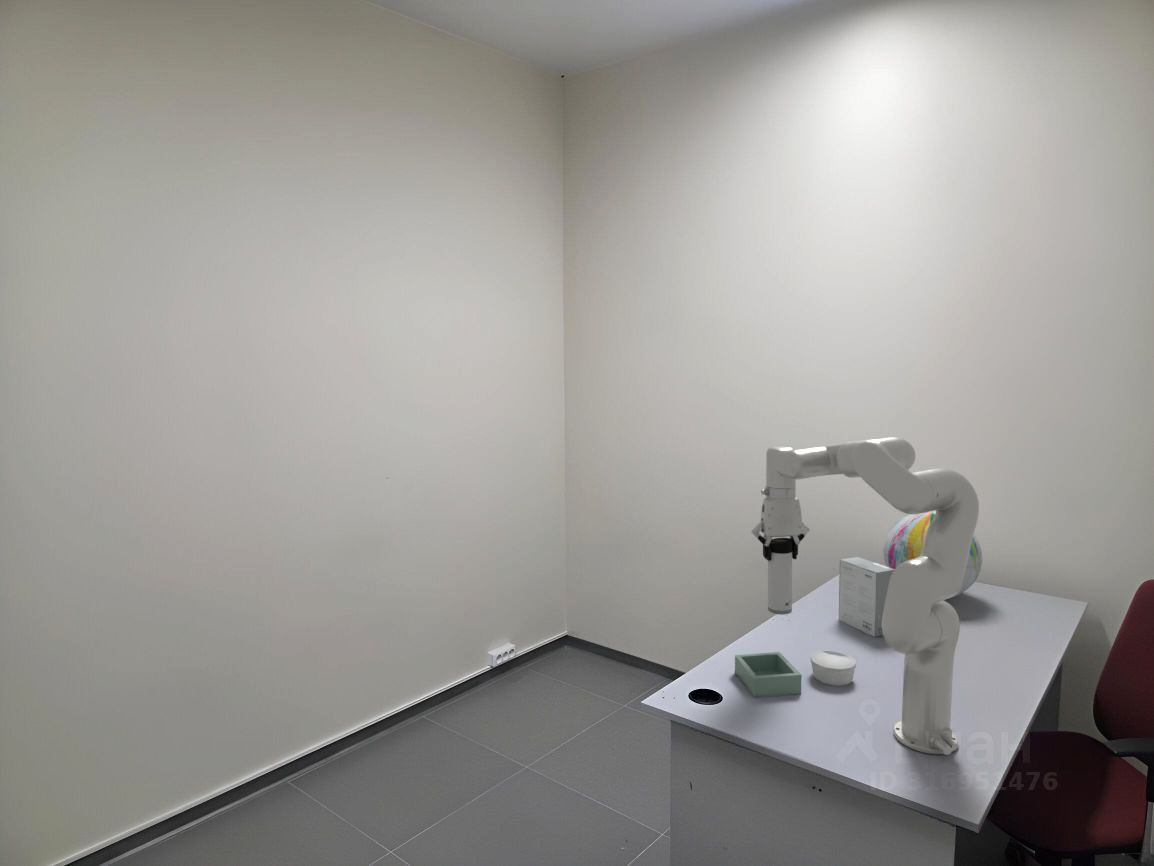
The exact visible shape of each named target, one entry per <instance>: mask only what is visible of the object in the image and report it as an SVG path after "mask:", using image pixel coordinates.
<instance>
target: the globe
mask: <svg viewBox="0 0 1154 866" xmlns="http://www.w3.org/2000/svg"><path fill="white" fill-rule="evenodd" d="M935 514H936V510H934V511H929V512H925V513H920V514H906V516H904V517H902V518H900V519H899V520H898V521H897V522H896V523H894V525H893V526H892V527H891V528H890V529H889V531H888V533H887V534H886V537H885V540H884V545H883V551H882V552H883V559H884V564H885V566H886V567H889V568H892V569H896V568H897V567H898V566H899V565H900V564H901V563H903V562H905V561H908V560H911V559H915V558H917V557H919V556H920V555H921V552H922V550H923V546H924V542H925V536H926V532H927V529H928V527H929V525H930V523H931V522H932V520H933V518H934V516H935ZM982 564H983V554H982V548H981V545H980V543H979V540H978V539H977V536H976V534H974V535H973V538H972V543H971V547H970V553H969V558H968V562H967V566H966V571H965V575H964V580H963V584H962V587H961V590H960V591H959V592H958V593H957V594H956V595H955V596H953V597H951V598H955V597H957V596H959V595H961V594H963V593H964V592H966V591H967V590H968V589H970V587H971V586H972V585H973V584H974V583H975V582H976V580H977V579H978V577H979V575H980V572H981V568H982ZM951 598H950V599H951Z"/></svg>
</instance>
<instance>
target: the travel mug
mask: <svg viewBox="0 0 1154 866" xmlns="http://www.w3.org/2000/svg"><path fill="white" fill-rule="evenodd" d="M792 541H793V542H794V540H793V538H790V537H789V538H788V537H774V538H772V539H771V542H770V546H771V560H770V561H768V560H767V610H768V612H770V613H772V614H773V615H775V614H776V615H789V614H791V613H792V611H793V558H792Z"/></svg>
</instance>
